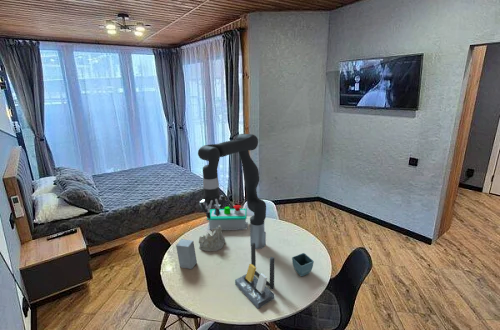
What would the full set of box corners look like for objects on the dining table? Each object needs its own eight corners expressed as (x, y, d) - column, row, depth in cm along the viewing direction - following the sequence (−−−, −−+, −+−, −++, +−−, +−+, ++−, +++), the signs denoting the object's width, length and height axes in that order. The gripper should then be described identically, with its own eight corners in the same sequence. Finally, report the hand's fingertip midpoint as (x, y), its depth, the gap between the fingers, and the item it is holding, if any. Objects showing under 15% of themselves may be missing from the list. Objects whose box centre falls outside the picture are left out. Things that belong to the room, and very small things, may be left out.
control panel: (208, 201, 202) (247, 201, 202) (209, 221, 207) (247, 220, 207) (204, 211, 188) (247, 210, 188) (206, 231, 193) (247, 231, 193)
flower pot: (300, 280, 144) (301, 266, 141) (291, 270, 151) (291, 257, 149) (313, 274, 148) (314, 261, 145) (303, 265, 155) (304, 252, 153)
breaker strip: (250, 276, 147) (250, 268, 146) (274, 299, 132) (274, 290, 130) (235, 284, 142) (235, 276, 140) (258, 308, 126) (258, 300, 125)
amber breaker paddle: (247, 277, 141) (251, 263, 140) (252, 282, 138) (256, 267, 137) (245, 278, 140) (249, 264, 139) (249, 282, 137) (253, 268, 136)
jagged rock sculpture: (227, 238, 183) (225, 219, 179) (219, 253, 168) (216, 233, 164) (206, 237, 187) (203, 218, 183) (196, 251, 172) (193, 231, 168)
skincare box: (197, 262, 159) (195, 239, 155) (191, 270, 153) (188, 246, 148) (184, 260, 162) (182, 237, 157) (178, 267, 155) (175, 244, 151)
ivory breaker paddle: (258, 287, 134) (262, 273, 133) (263, 292, 131) (267, 277, 130) (255, 288, 133) (259, 273, 132) (260, 293, 130) (265, 278, 129)
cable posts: (254, 269, 153) (253, 242, 148) (275, 288, 139) (275, 258, 133) (250, 270, 152) (250, 243, 146) (271, 290, 138) (271, 260, 132)
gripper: (219, 180, 138) (221, 210, 143) (194, 186, 130) (197, 218, 135) (227, 184, 132) (228, 215, 137) (201, 191, 124) (203, 224, 130)
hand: (213, 216), depth 136 cm, fingers open, 4 cm apart
